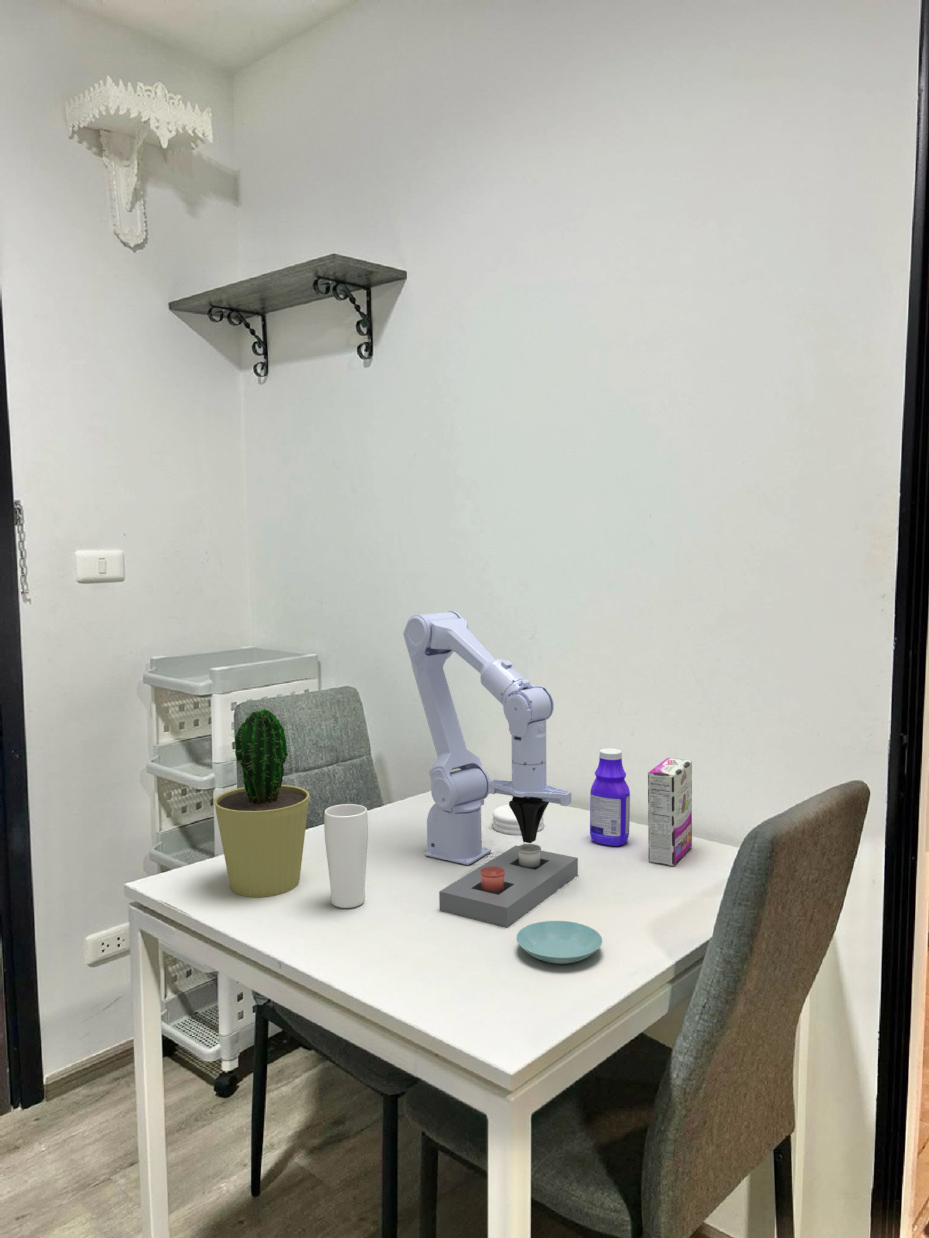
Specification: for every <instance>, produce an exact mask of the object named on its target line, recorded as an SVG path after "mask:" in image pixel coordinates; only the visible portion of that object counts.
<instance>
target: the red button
mask: <svg viewBox="0 0 929 1238" xmlns="http://www.w3.org/2000/svg"><path fill="white" fill-rule="evenodd" d="M480 874H481V888H482V890H484V891H488V892H498V891H501V890H503V889H504V874H505V870H504V869H503V868H501V867H497V866H488V867H484V868H482V869H481V870H480Z"/></svg>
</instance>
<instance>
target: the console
mask: <svg viewBox="0 0 929 1238" xmlns="http://www.w3.org/2000/svg"><path fill="white" fill-rule="evenodd" d="M518 846H519V845H514V846H512V847H510V848H509V849H507V850H505V851H504V852H502V853H501V854H499V855H497V856H496V857H494V858H492V859H490V860H489V861H487V862H486V863H484V864H482V865H481V866H479V867H478V868H476V869H474V870H472V871H471V872H469V873H468V874H465V875H464V876H462V877H461V878H459V879H457V880H456V881H454V882H453V883H451V884H449V885H447V886H445V887H444V888H443V889H440V891H439V892H438V894H439V895H438V897H439V901H438V903H439V904H438V905H439V911H441V912H446V913H449V914H453V915H457V916H461V917H465V918H468V919H473V920H476V921H480V922H483V923H488V924H492V925H496V926H500V927H504V928H509V927H510V926H512V925H513V924H514V923H515V922H516V921H518V920H520V919H521V918H522V917H524V916H525V915H526V914H527V913H529V912H530V911H532V910H533V909H534V908H535V907H537V906H538V905H540V904H541V903H542V902H544V901H545V900H546V899H547V898H549V897H550V896H553V894H554V893H555V892H557V891H558V890H560V889H561V888H562V887H564V886H565V885H566V884H567V883H569V882H570V881H572V880H573V879H574V878H576V877H577V876H579V871H578V869H579V860H578V859H579V858H578V857H577V856H576V857H575V856H570V855H566V854H560V853H555V852H550V851H545V850H541V851H540V865H539V866H537V867H523V866H520V865H519V851H518ZM488 866H497V867H501V868H503V869H504V870H505V874H504V889H503V890H501V891H498V892H488V891H484V890H482V888H481V874H480V870H481V869H482V868H484V867H488Z"/></svg>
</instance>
